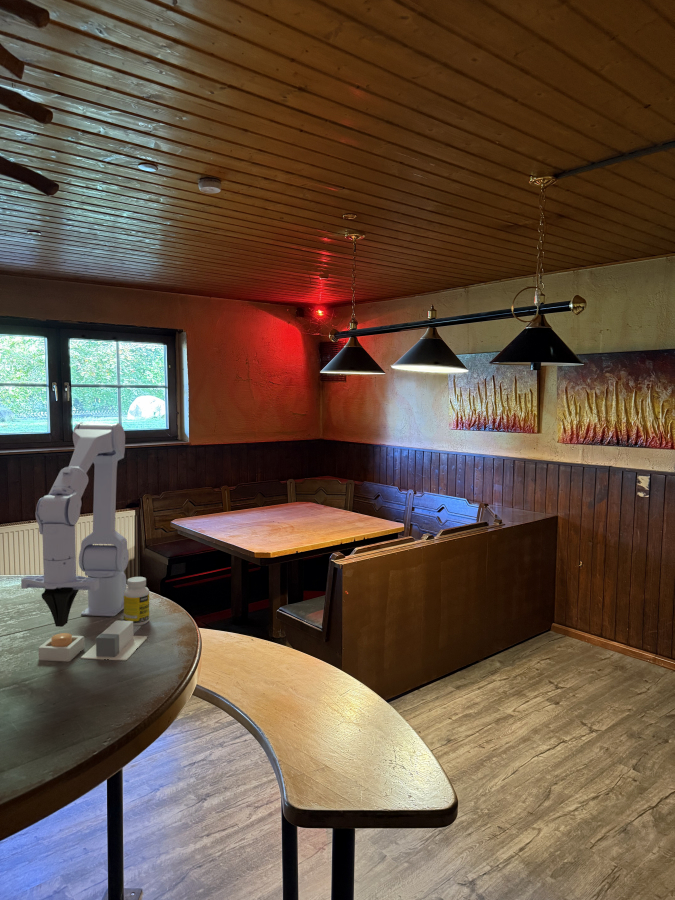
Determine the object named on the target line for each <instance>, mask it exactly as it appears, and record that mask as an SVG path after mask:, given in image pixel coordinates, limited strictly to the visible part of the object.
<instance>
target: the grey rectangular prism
mask: <svg viewBox="0 0 675 900" xmlns="http://www.w3.org/2000/svg"><path fill="white" fill-rule="evenodd" d="M133 636H134V634H133V621H124V620H118V619H117V620H115V621H114V622H112V624H110V625H109V626H108V627H107V628H106V629H105V630H104V631H103V632H101V633H100V634H98V635H97V636H96V637H95V644H96V656H105V657H115V656H116V655H117V654H118V653H119V652H120V651H121V650H122V649H123V648H124V647H125V646H126V645H127V644H128V643H129V642H130V641H131V640H132V639H133Z"/></svg>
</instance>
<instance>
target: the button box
mask: <svg viewBox="0 0 675 900" xmlns="http://www.w3.org/2000/svg"><path fill="white" fill-rule="evenodd" d="M52 637H53V636H51V637H50V638H49V639H47V640H46V641H45V642H44V643H42V644H41V645H39V646H38V651H37V652H38V661H49V662H50V661H51V662H71V661H72V660H73V659H74V658H76V657H77V655H78V654H79V653H81V652H82V651H83V650H84V649H85V636H83V635H72V643H71V644H70V645H69V646H68V647H58V646H52V640H51V638H52ZM80 651H81V652H80Z"/></svg>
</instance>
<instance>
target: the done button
mask: <svg viewBox="0 0 675 900" xmlns="http://www.w3.org/2000/svg"><path fill="white" fill-rule="evenodd" d="M72 636H73V635H72V634H71V633H67V632H61V633H57V634H54V635H53V636H51V637H52V638H51V637H50V638H51V640H52V646H58V647H68V646H69V645H70V644H71V643H72Z"/></svg>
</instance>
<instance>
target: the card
mask: <svg viewBox="0 0 675 900" xmlns="http://www.w3.org/2000/svg"><path fill="white" fill-rule="evenodd" d="M139 629H141V625H138V626H133V635H134V634H136V633H137V632H138V630H139Z"/></svg>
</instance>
